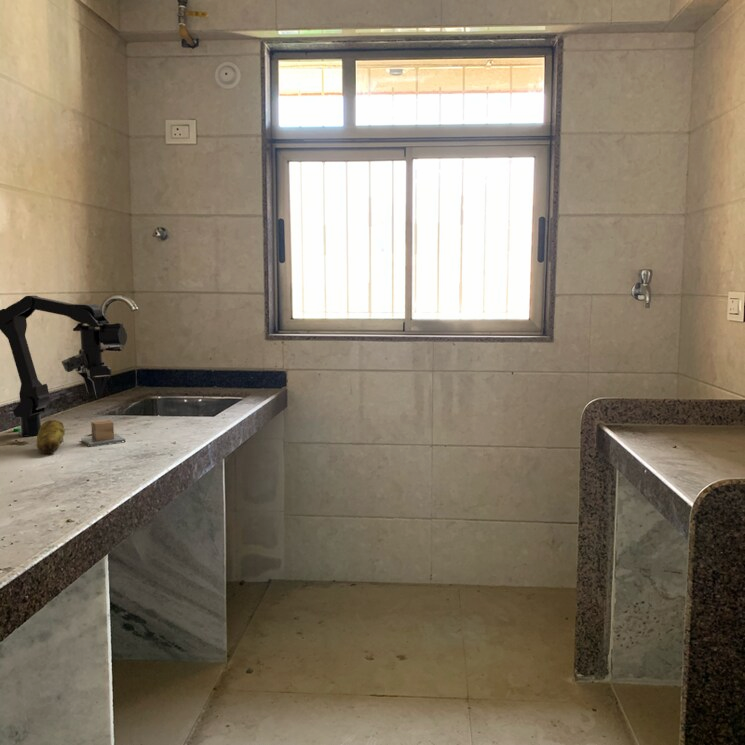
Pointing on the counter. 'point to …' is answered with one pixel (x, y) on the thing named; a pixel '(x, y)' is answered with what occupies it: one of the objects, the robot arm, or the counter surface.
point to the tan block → (102, 430)
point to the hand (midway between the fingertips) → (94, 396)
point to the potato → (50, 436)
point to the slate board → (92, 442)
